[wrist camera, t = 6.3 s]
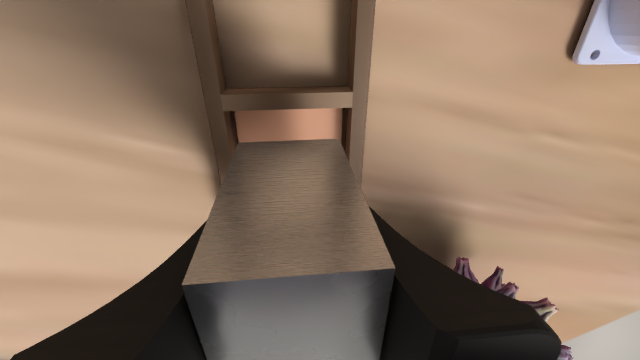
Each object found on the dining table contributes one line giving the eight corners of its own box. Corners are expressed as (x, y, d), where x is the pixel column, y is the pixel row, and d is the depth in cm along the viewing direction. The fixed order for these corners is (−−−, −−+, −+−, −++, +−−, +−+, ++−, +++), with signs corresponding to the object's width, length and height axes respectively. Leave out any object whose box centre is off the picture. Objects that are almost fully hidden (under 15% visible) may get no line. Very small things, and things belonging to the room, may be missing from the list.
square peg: (338, 138, 13) (395, 268, 6) (336, 218, 16) (376, 378, 9) (237, 142, 13) (181, 285, 6) (250, 223, 15) (219, 396, 8)
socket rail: (395, -414, 9) (414, -489, 7) (353, 207, 20) (358, 220, 19) (112, -451, 8) (79, -540, 7) (233, 213, 19) (229, 228, 18)
